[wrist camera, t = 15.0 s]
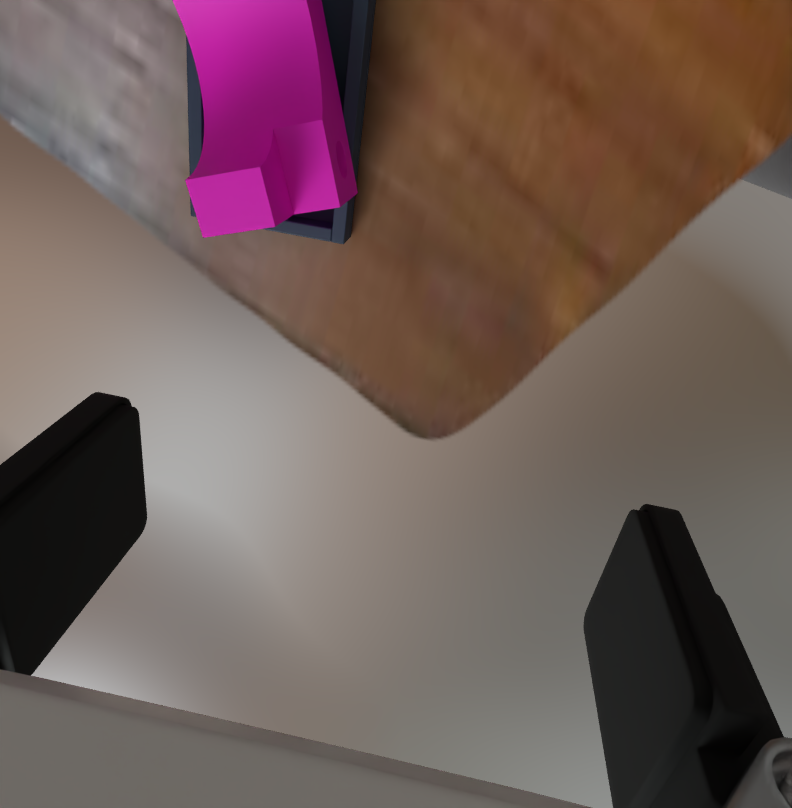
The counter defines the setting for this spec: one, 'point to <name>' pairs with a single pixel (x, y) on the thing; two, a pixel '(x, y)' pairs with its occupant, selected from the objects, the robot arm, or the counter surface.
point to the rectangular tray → (350, 47)
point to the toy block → (265, 114)
